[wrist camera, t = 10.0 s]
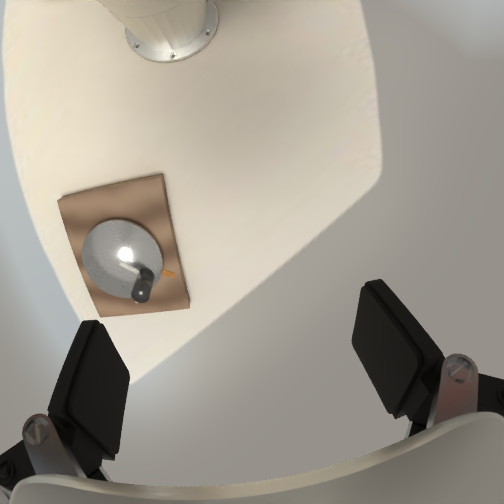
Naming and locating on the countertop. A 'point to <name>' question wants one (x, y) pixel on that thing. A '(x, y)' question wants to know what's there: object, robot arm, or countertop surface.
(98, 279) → the dial
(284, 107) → the countertop surface
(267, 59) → the countertop surface
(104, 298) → the dial board
